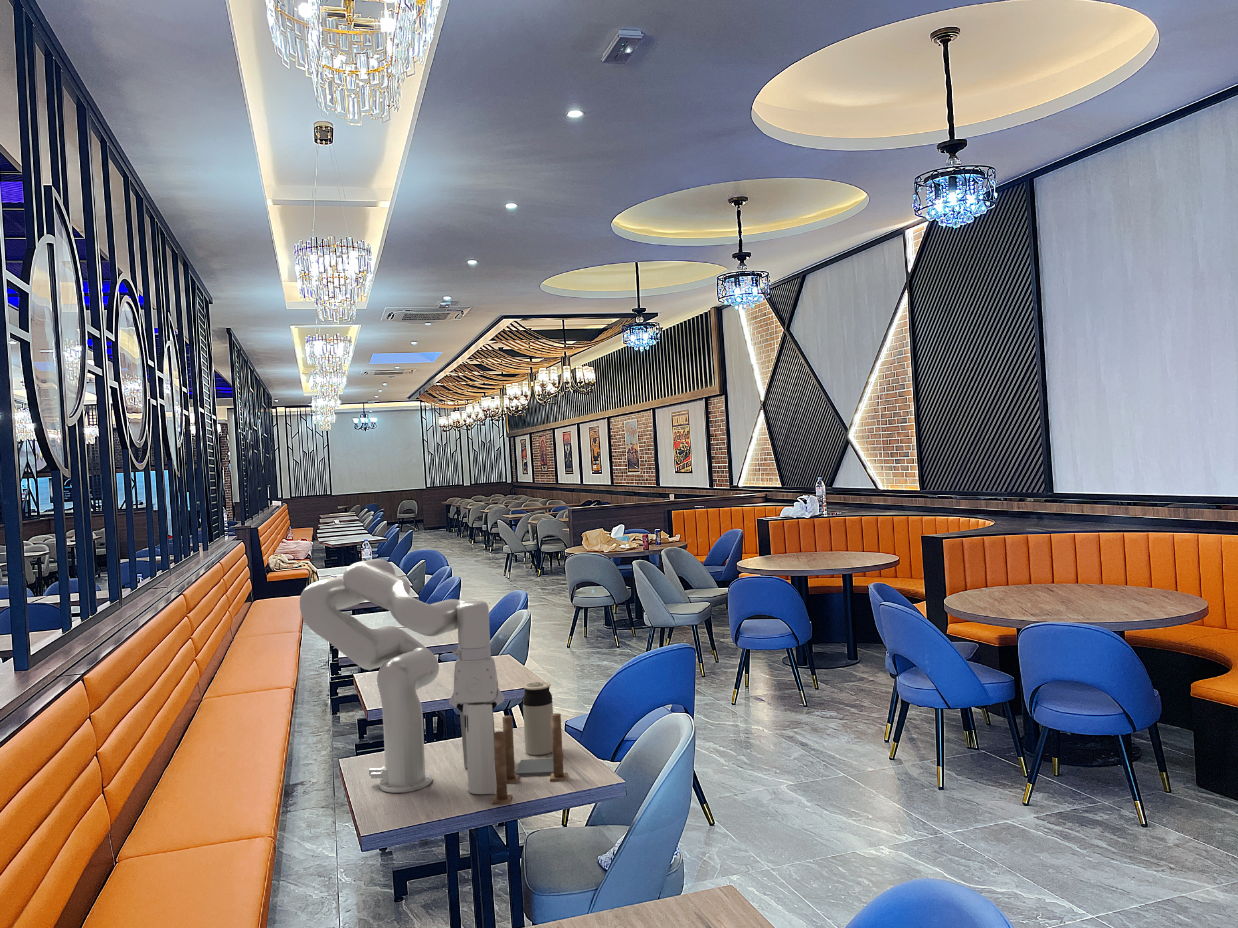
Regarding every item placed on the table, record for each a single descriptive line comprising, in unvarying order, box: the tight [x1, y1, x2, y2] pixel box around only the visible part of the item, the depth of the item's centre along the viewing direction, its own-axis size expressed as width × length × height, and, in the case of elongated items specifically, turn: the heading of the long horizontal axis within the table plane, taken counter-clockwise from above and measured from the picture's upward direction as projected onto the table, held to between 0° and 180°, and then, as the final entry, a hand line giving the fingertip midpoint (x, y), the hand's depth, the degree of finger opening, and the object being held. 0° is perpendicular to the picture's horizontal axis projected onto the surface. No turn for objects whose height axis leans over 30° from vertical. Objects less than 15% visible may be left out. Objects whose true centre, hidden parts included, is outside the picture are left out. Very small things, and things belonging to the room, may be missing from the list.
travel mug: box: [522, 681, 554, 756], centre depth 232 cm, size 8×8×18 cm
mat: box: [515, 757, 554, 777], centre depth 218 cm, size 10×10×1 cm
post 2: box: [502, 715, 521, 784], centre depth 210 cm, size 4×4×16 cm
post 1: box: [491, 730, 513, 805], centre depth 197 cm, size 4×4×16 cm
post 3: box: [549, 712, 569, 782], centre depth 210 cm, size 4×4×16 cm
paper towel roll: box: [466, 702, 497, 795], centre depth 204 cm, size 7×6×21 cm
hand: (478, 729), depth 204 cm, fingers closed on paper towel roll, 3 cm apart
